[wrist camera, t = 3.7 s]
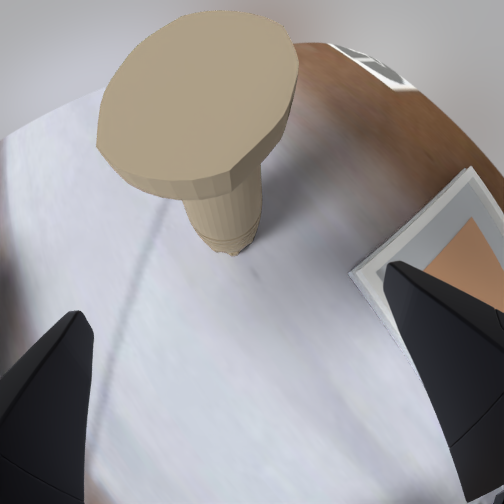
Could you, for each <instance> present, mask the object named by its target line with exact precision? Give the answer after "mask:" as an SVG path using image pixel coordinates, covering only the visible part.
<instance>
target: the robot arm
mask: <svg viewBox="0 0 504 504" xmlns="http://www.w3.org/2000/svg"><path fill="white" fill-rule="evenodd" d="M383 291H384V294H385V297H386V299H387V302H388V304H389V307H390V309H391V312H392V315H393V317H394V320H395V323H396V325H397V328H398V330H399V333H400V335H401V337H402V340H403V342H404V344H405V346H406V348H407V350H408V352H409V354H410V356H411V358H412V360H413V363H414V365H415V367H416V369H417V371H418V373H419V376H420V378H421V380H422V382H423V385H424V387H425V389H426V391H427V394H428V396H429V398H430V401H431V403H432V406H433V408H434V410H435V413H436V415H437V418H438V420H439V423H440V425H441V428H442V431H443V433H444V436H445V439H446V441H447V444H448V447H449V448H450V449H449V450H450V453H451V456H452V458H453V461H454V464H455V467H456V470H457V473H458V476H459V479H460V483H461V486H462V489H463V492H464V496H465V499H466V501H467V503H468V502H471V501H473V500H475V499H477V498H479V497H481V496H483V495H485V494H487V493H489V492H491V491H493V490H495V489H497V488H499V487H500V486H502V485H504V313H503V312H501V311H500V310H498V309H495V308H494V307H492V306H490V305H488V304H487V303H485V302H483V301H481V300H479V299H477V298H475V297H473V296H471V295H469V294H468V293H466V292H464V291H462V290H460V289H458V288H456V287H454V286H452V285H450V284H448V283H446V282H444V281H442V280H440V279H438V278H436V277H434V276H432V275H430V274H428V273H426V272H424V271H422V270H420V269H418V268H415V267H413V266H411V265H409V264H407V263H405V262H403V261H400V260H399V261H394V262H389V263H388V264H387V266H386V271H385V277H384V282H383ZM93 343H94V333H93V330H92V328H91V326H90V324H89V323H88V321H87V319H86V318H85V316H84V314H83V313H82V312H81V311H79V310H77V311H69V312H68V313H66V314H65V315H64V316H63V317H62V318H61V319H60V320H59V321H58V322H57V323H56V324H55V325H54V326H53V327H52V328H50V329H49V330H48V331H47V332H46V333H45V334H44V335H43V336H42V337H41V338H40V339H39V340H38V341H37V342H36V343H35V344H34V345H33V346H32V347H31V348H30V349H29V350H28V351H27V352H26V353H25V354H24V355H23V356H22V357H21V358H20V359H19V360H18V361H17V362H16V363H15V364H14V365H13V366H12V367H11V368H10V369H9V371H8V372H7V373H6V374H5V375H4V376H3V377H2V378H1V379H0V504H84V461H85V441H86V427H87V415H88V406H89V397H90V389H91V379H92V359H93ZM493 504H504V490H503V491H501V492H500V493H499V494H497V495H496V497H495V500H494V503H493Z"/></svg>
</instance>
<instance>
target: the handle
mask: <svg viewBox="0 0 504 504" xmlns="http://www.w3.org/2000/svg"><path fill="white" fill-rule="evenodd" d="M298 66H299V62H298V58H297V54H296V51H295V48H294V46H293V44H292V42H291V40H290V38H289V36H288V34H287V32H286V30H285V28H284V26H282V25H280V24H278V23H277V22H274V21H273V20H270V19H268V18H265V17H262V16H258V15H255V14H251V13H245V12H237V11H205V12H199V13H193V14H189V15H185V16H181V17H180V18H178V19H176V20H174V21H173V22H171V23H169V24H168V25H166V26H164V27H163V28H161V29H160V30H158V31H156V32H155V33H153V34H152V35H151V36H149V37H147V38H146V39H145V40H144V41H142V42H141V43H140V44H139V45H137V47H136V48H135V49H134V50H133V51H132V52H131V53H130V54H129V55H128V57H127V58H126V59H125V61H124V62H123V63H122V65H121V66H120V68H119V69H118V70H117V72H116V73H115V75H114V76H113V78H112V79H111V81H110V82H109V84H108V86H107V88H106V90H105V92H104V95H103V98H102V101H101V105H100V112H99V119H98V129H97V142H96V147H97V149H98V150H99V151H100V153H101V154H102V156H103V157H104V158H105V159H106V161H107V162H108V163H109V164H110V166H111V167H112V168H113V169H114V170H115V171H116V172H117V173H118V174H119V175H120V176H121V177H122V178H123V179H124V180H125V181H126V182H127V183H128V184H130V185H132V186H134V187H136V188H137V189H139V190H141V191H143V192H146V193H149V194H152V195H155V196H158V197H162V198H168V199H175V200H182V201H183V204H184V207H185V210H186V213H187V215H188V218H189V220H190V222H191V224H192V226H193V227H194V229H195V231H196V232H197V234H198V235H199V236H200V238H201V239H202V240H203V241H204V242H205V243H206V244H207V245H209V247H210V248H211V249H212V250H213V251H215V252H217V253H218V252H224V253H227V254H229V255H230V256H237V255H238V254H239V252H240V251H241V250H242V249H243V248H245V247H246V246H247V245H248V244H251V243H252V241H253V239H254V237H255V234H256V231H257V228H258V225H259V221H260V216H261V209H262V186H261V163H262V162H263V161H264V159H265V158H266V157H267V156H268V155H269V154H270V152H271V151H272V150H273V149H274V147H275V146H276V145H277V144H278V142H279V141H280V140H281V138H282V135H283V133H284V130H285V127H286V124H287V120H288V117H289V113H290V109H291V105H292V101H293V97H294V93H295V88H296V83H297V77H298Z"/></svg>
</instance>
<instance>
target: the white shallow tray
mask: <svg viewBox="0 0 504 504" xmlns="http://www.w3.org/2000/svg"><path fill="white" fill-rule="evenodd" d="M399 260H400V261H403V262H405V263H407V264H409V265H411V266H413V267H415V268H418V269H420V270H422V271H424V272H426V273H428V274H430V275H432V276H434V277H436V278H438V279H440V280H442V281H444V282H446V283H448V284H450V285H452V286H454V287H456V288H458V289H460V290H462V291H464V292H466V293H468V294H469V295H471V296H473V297H475V298H477V299H479V300H481V301H483V302H485V303H487V304H488V305H490V306H492V307H494V308H495V309H498V310H500V311H501V312H503V313H504V214H503V212H502V210H501V209H500V207H499V206H498V204H497V202H496V201H495V199H494V198H493V196H492V195H491V193H490V192H489V190H488V189H487V187H486V186H485V184H484V183H483V181H482V180H481V179H480V177H479V176H478V174H477V173H476V172H475V170H474V169H473V168H472V166H470V167H469V168H468V169H466V168H464V169H463V170H462V171H460V172H459V173H458V174H457V175H456V176H455V177H454V178H453V179H452V180H451V181H450V182H449V183H448V184H447V185H446V186H445V187H444V188H443V189H442V190H441V191H440V192H439V193H438V194H437V195H436V196H435V197H434V198H433V199H432V200H431V201H430V202H429V203H427V204H426V205H425V206H424V207H423V208H422V209H421V210H420V211H419V212H418V213H417V214H416V215H415V216H413V217H412V218H411V219H410V220H409V221H408V222H407V223H406V224H405V225H404V226H402V227H401V228H400V229H399V230H398V231H397V232H396V233H395V234H393V235H392V236H391V237H390V238H389V239H388V240H387V241H385V242H384V243H383V244H382V245H381V246H380V247H379V248H377V249H376V250H375V251H374V252H373V253H372V254H370V255H369V256H368V257H367V258H366V259H364V260H363V261H362V262H361V263H360V264H358V265H357V266H356V267H355V268H354V269H352V270H351V271H350V272H349V273H348V275H349V276H350V278H351V279H352V280H353V282H354V283H355V284H356V286H357V287H358V289H359V290H360V291H361V293H362V294H363V296H364V297H365V298H366V300H367V301H368V303H369V304H370V305H371V307H372V308H373V310H374V311H375V313H376V314H377V315H378V317H379V318H380V320H381V321H382V323H383V324H384V326H385V327H386V328H387V330H388V331H389V333H390V334H391V336H392V337H393V339H394V340H395V342H396V343H397V345H398V346H399V348H400V349H401V351H402V352H403V354H404V355H405V357H406V358H407V360H408V361H409V363H410V365H411V366H412V368H413V369H414V371H415V372H416V374H417V375H418V377H419V379H420V380H421V378H420V376H419V373H418V371H417V369H416V367H415V365H414V363H413V360H412V358H411V356H410V354H409V352H408V350H407V348H406V346H405V344H404V342H403V340H402V337H401V335H400V333H399V330H398V328H397V325H396V323H395V320H394V317H393V315H392V312H391V309H390V307H389V304H388V302H387V299H386V297H385V294H384V291H383V282H384V277H385V271H386V266H387V264H388V263H389V262H394V261H399ZM421 382H422V380H421ZM422 383H423V382H422Z"/></svg>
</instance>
